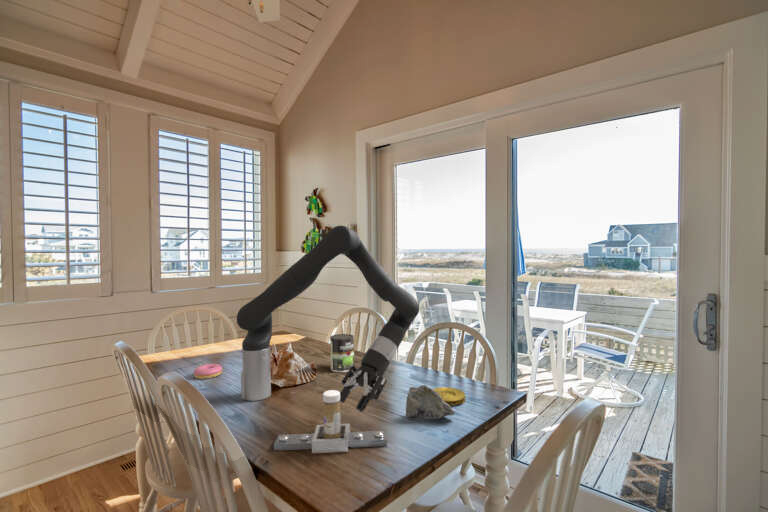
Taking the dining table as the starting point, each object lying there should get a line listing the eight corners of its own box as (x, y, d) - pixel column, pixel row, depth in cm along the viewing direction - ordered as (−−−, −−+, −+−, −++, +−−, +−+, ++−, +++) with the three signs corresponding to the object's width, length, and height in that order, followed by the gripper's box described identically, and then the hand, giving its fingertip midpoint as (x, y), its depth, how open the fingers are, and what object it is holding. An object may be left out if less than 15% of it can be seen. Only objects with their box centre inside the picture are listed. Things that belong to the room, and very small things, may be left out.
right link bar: (348, 447, 96) (348, 439, 96) (349, 437, 101) (349, 429, 101) (387, 446, 96) (386, 437, 96) (386, 436, 101) (386, 428, 101)
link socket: (312, 453, 94) (311, 441, 94) (317, 435, 103) (316, 424, 103) (347, 451, 94) (347, 439, 94) (349, 434, 103) (349, 423, 103)
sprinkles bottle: (320, 444, 98) (319, 393, 98) (333, 437, 102) (332, 388, 101) (332, 449, 95) (330, 397, 95) (345, 442, 99) (343, 391, 98)
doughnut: (207, 381, 149) (207, 371, 149) (187, 378, 153) (187, 368, 153) (228, 373, 159) (228, 363, 159) (209, 370, 163) (208, 361, 163)
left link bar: (273, 450, 95) (273, 442, 95) (278, 440, 100) (278, 432, 100) (313, 449, 96) (313, 440, 96) (316, 439, 101) (315, 431, 101)
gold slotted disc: (440, 410, 118) (440, 403, 118) (423, 396, 129) (422, 390, 129) (472, 403, 122) (472, 397, 122) (453, 391, 133) (452, 385, 133)
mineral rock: (456, 420, 110) (456, 386, 110) (433, 432, 103) (432, 396, 103) (423, 407, 120) (423, 376, 120) (400, 418, 112) (399, 384, 112)
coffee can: (359, 369, 160) (358, 336, 160) (338, 374, 154) (337, 340, 154) (346, 363, 168) (345, 332, 168) (326, 368, 162) (325, 336, 162)
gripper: (357, 343, 113) (326, 391, 105) (389, 352, 102) (357, 406, 95) (371, 357, 116) (342, 404, 109) (403, 367, 106) (373, 420, 98)
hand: (349, 405), depth 102 cm, fingers open, 8 cm apart
